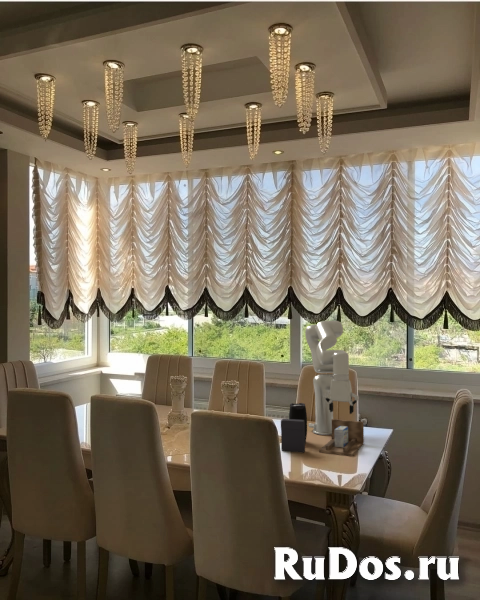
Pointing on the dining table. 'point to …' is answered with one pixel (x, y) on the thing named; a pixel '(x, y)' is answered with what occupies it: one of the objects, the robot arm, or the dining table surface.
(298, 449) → the calculator
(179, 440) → the dining table surface
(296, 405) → the portable speaker
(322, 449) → the book rack
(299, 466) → the dining table surface
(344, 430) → the medicine box
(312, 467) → the dining table surface
